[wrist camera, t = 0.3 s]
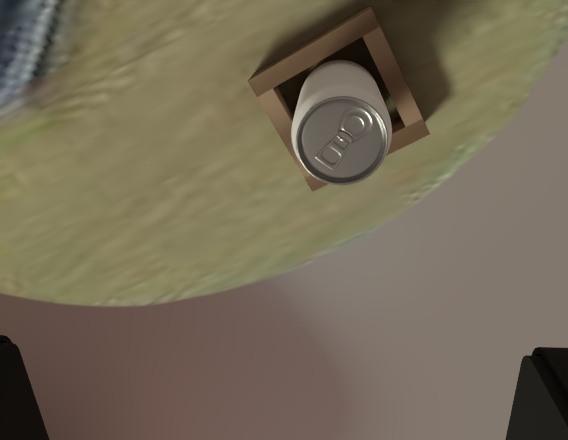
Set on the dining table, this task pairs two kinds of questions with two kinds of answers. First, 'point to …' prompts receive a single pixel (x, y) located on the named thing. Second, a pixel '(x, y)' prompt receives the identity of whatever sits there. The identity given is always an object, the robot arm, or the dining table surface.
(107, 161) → the dining table surface
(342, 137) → the can
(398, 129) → the brown square frame
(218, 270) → the dining table surface
